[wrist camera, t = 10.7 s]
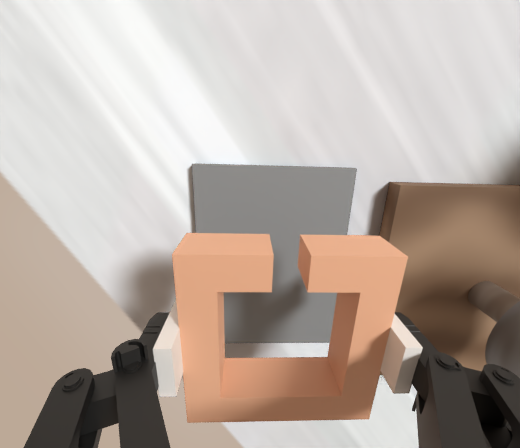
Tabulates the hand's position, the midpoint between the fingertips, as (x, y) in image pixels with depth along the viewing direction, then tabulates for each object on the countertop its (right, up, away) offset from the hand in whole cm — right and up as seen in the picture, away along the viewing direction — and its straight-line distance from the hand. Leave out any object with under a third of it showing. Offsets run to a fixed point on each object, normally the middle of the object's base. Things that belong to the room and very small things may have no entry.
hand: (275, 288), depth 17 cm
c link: (0, -1, -3) cm, 3 cm away
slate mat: (0, +1, +4) cm, 4 cm away
